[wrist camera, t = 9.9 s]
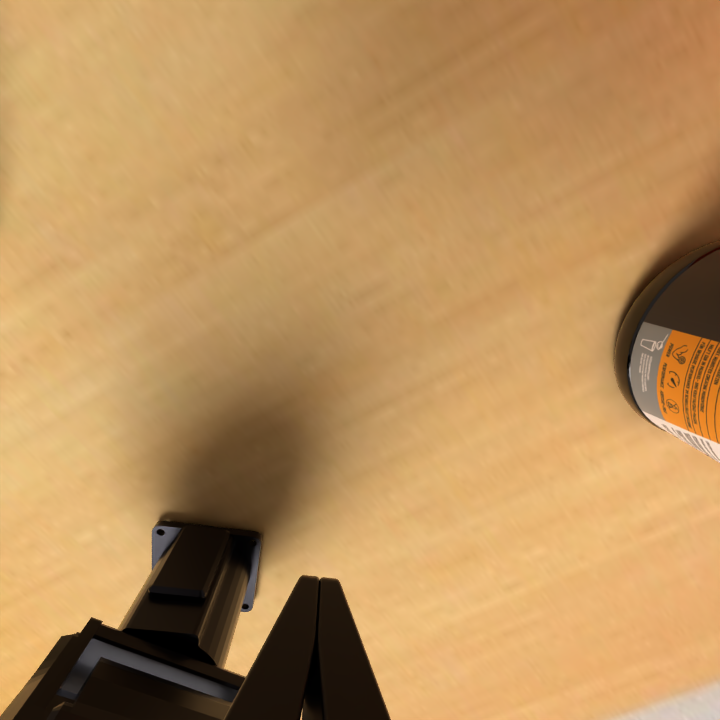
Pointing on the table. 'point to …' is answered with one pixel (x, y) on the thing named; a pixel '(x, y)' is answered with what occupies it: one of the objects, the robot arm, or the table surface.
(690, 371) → the supplement container
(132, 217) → the table surface
